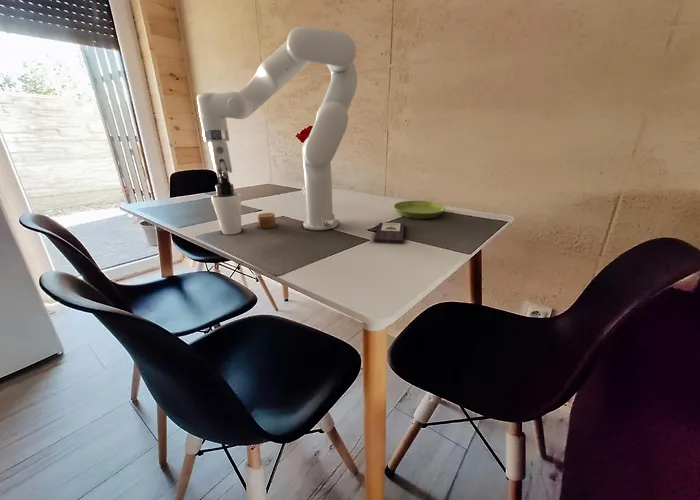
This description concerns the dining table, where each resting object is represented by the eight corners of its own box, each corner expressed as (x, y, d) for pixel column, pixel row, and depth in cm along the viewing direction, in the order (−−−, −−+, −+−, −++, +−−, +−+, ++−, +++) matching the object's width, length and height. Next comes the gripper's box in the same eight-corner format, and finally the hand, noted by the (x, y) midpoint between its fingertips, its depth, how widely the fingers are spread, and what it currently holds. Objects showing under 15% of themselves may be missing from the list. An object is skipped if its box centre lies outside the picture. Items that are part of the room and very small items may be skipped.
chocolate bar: (374, 239, 98) (379, 222, 115) (374, 241, 99) (379, 224, 115) (403, 240, 97) (404, 223, 113) (402, 243, 97) (404, 225, 114)
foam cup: (218, 237, 105) (211, 199, 100) (217, 229, 113) (210, 194, 108) (247, 233, 109) (241, 196, 104) (244, 226, 117) (239, 191, 112)
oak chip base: (278, 226, 116) (278, 220, 115) (264, 229, 112) (263, 224, 111) (270, 223, 120) (269, 217, 119) (256, 226, 116) (255, 220, 115)
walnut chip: (237, 195, 106) (235, 184, 105) (221, 197, 102) (219, 186, 101) (230, 193, 110) (228, 182, 108) (214, 195, 106) (212, 184, 105)
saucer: (392, 220, 121) (392, 211, 120) (394, 207, 140) (394, 200, 139) (447, 221, 118) (448, 213, 117) (441, 208, 137) (442, 201, 136)
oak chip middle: (278, 220, 115) (277, 214, 115) (263, 224, 111) (263, 218, 111) (269, 217, 119) (268, 211, 118) (255, 220, 115) (254, 215, 115)
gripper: (232, 136, 94) (241, 196, 100) (225, 135, 108) (233, 187, 115) (205, 137, 90) (216, 199, 97) (201, 136, 105) (211, 189, 111)
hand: (225, 192), depth 106 cm, fingers closed on walnut chip, 5 cm apart
